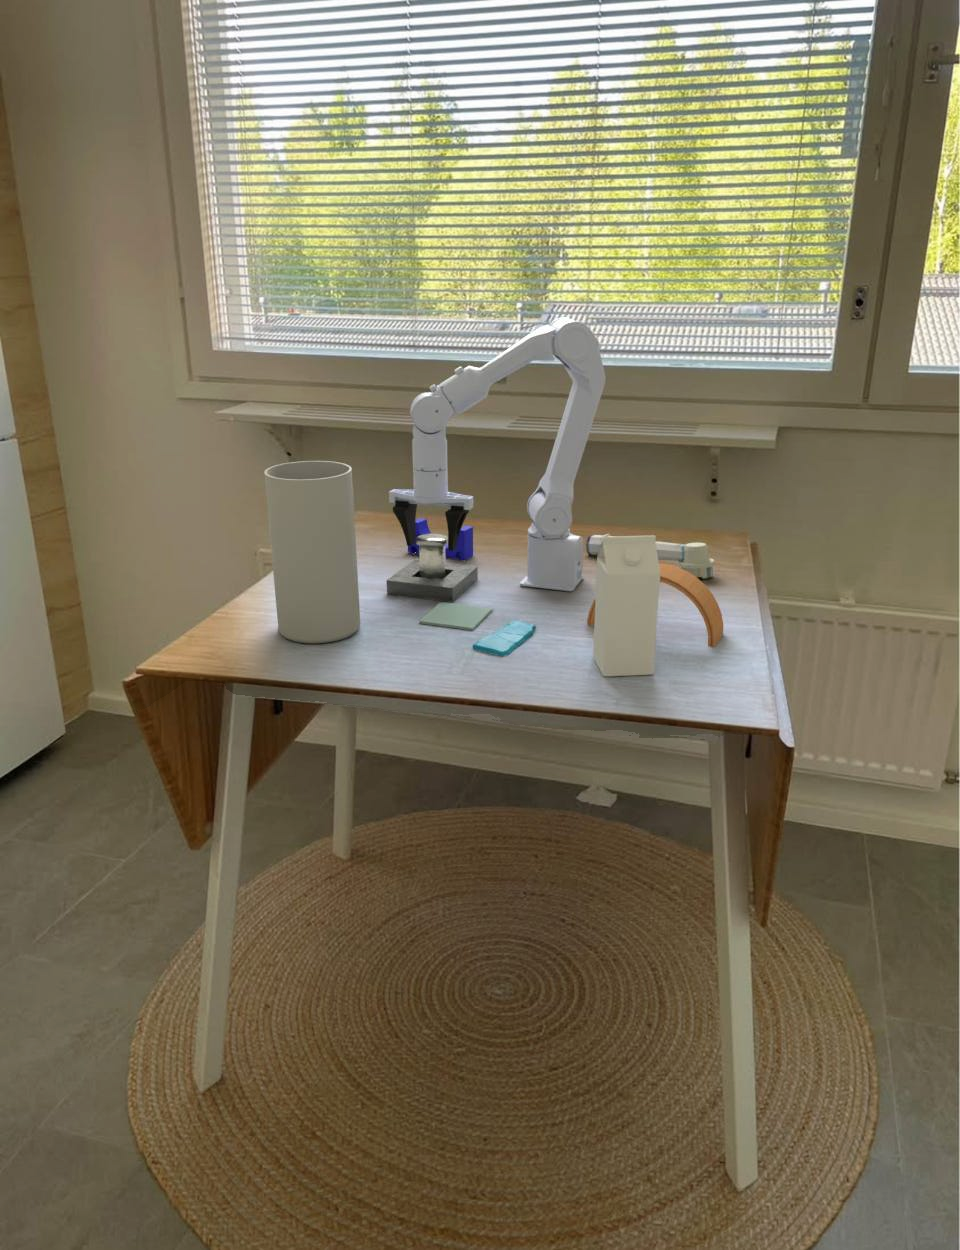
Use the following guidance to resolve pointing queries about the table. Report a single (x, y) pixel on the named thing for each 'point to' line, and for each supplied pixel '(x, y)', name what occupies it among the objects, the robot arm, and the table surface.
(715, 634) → the arch
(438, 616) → the mat
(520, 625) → the sponge
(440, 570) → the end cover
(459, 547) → the blue bearing cradle
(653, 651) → the milk carton
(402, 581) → the socket block
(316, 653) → the table surface
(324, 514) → the cylinder vase
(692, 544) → the angle grinder
